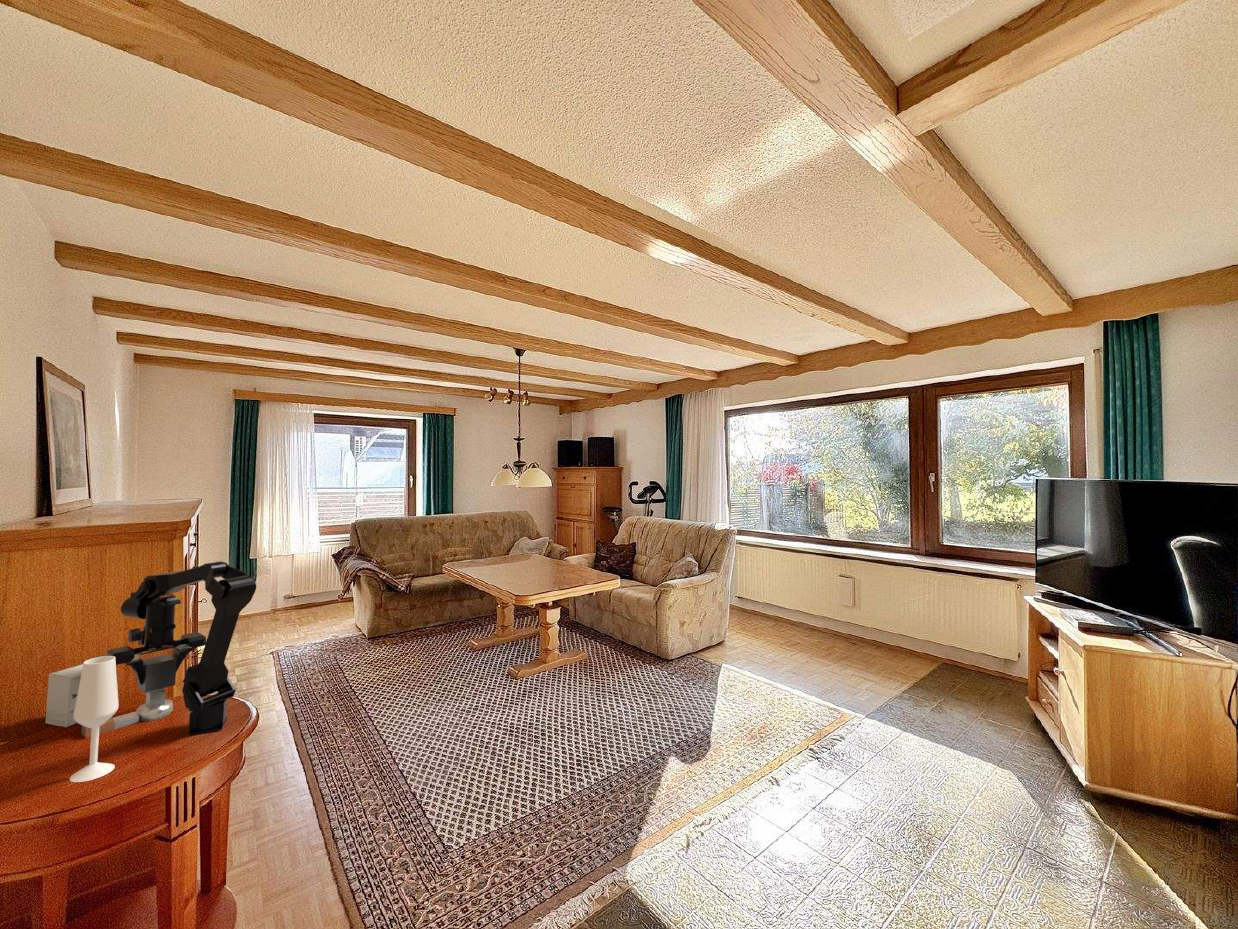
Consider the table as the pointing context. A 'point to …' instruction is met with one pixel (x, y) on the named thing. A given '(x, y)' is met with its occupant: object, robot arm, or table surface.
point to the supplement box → (63, 696)
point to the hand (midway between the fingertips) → (156, 680)
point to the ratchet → (138, 713)
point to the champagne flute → (96, 709)
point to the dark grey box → (158, 672)
